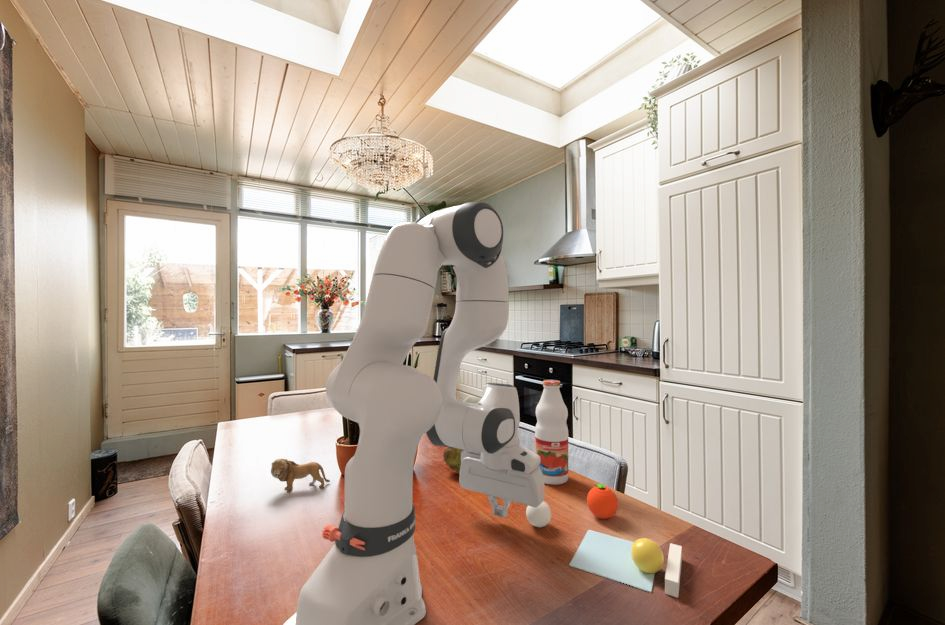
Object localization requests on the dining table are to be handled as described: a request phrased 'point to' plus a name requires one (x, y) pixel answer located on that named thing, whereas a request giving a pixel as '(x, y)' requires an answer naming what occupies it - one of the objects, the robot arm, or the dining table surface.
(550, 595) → the dining table surface
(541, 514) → the cue ball
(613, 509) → the clementine
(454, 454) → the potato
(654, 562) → the yellow ball
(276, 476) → the lion figurine
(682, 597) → the dining table surface
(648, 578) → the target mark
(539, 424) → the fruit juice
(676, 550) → the rail
